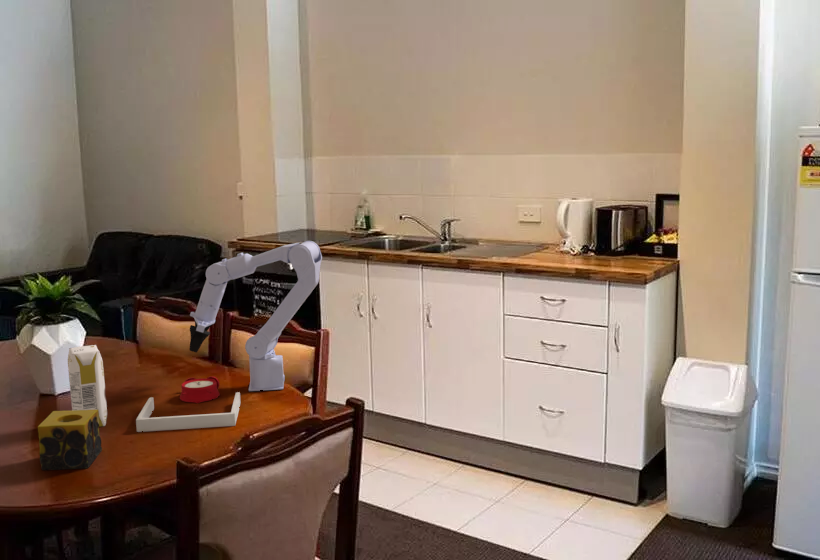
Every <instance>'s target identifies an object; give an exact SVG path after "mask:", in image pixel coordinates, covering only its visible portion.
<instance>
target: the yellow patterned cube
mask: <svg viewBox="0 0 820 560" xmlns="http://www.w3.org/2000/svg"><path fill="white" fill-rule="evenodd" d="M37 433H38V440H39V441H38V444H39V463H40V465H41V467H40V469H41V471H61V470H65V471H66V470H76V469H88V468H89V467H91V466H92V464H93V463H94V462H95V460H96V459H97V458H98V456H99V455H100V453H102V451H103V450H102V449H103V448H102V438H101V435H100V428H99V423H98V410H72V409H71V410H53V411H51V413H50V414H49V415H47V417H46V418H45V419H44V420H43V421H42V422H41V423H40V424H38V426H37Z"/></svg>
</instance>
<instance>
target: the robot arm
mask: <svg viewBox="0 0 820 560" xmlns="http://www.w3.org/2000/svg"><path fill="white" fill-rule="evenodd" d="M322 260H323V255H322V252H321V249H320V245H318V244H317V243H316V242H315V241H312V240H305V241H303V242H302V243H301V242H295V243H289V244H285V245H282V246H279V247H276V248H273V249H271V250H268V251H267V250H266V251H265V252H261V253H260V254H255V255H252V254H249V253H244V252H240V253H237V256H234V257H231V258H229V259H228V258H223V259H221V261H218V262H215V263H213V264H211V265H209V266H207V268H206V270H205V277H206V280H205V282H204V285H203V288H202V291H201V294H200V297H199V301H198V303H197V307H196V309H195V311H191V312H190V314H189V316H190V317H192V318H194V325H193V324H192V325H191V324H190V326H189V333H190V342H189V351H190V352H192V353H198V351H199V350H200V348H201V346H202V344H203V342H205V340H206V339H207V338H208V337H209V336H210V335H211V331H208V330H209V329H210V328H211V327H212V326H213V325H214V324H215V323H216V317H217V314H218V312H219V309H220V306H221V303H222V299H223V297H224V294H225V291H226V288H227V284H228V282H230V281H231V280H236V279H239V278H242V277H245V276H249V275H251V274H254V273H255V272H256V269H257V268H259V267H261V266H265V265H268V264H273V263H274V262H275V263H276V262H278V261H282V262H283V263H286V264H289V263H290V264H291V266H292V267H293V269H294V271H295V272H296V275H297V282H296V283H295V284H294V286H293V287H292V288H291V289H290V291H289V292H288V293H287V295H286V296H285V297H284V299H283V300H282V301H281V303H280V304H279V305H278V306H277V308H276V310H275V311H274V312H273V314H272V315H271V316H270V317H269V319H268V320H267V321H266V323H264V325H263V326H262V327H261V328H259V330H258V331H257V333H256V334H254V335H253V336H250V337H249V338H248V339H246V341H245V345H244V346H245V347H244V349H245V351H246V353H247V355H248V358H249V359H248V361H249V377H250V382H249V386H248V392H261V391H260V390H263V391H276V390H277V391H279V390H280V391H281V390H284V387H285V386H284V385H285V381H286V380H285V377H286V376H285V373H284V359H283V357H284V356H283V355H281V354H276V351H275V348H276V346H277V345H278V339H279V337H280V336H281V335H282V332H283V330H284V329H285V328H286V327H287V325H288V323H289V322H290V321H291V319H293V317H294V315H296V313H297V312H298V310H300V308H301V306H302V305H303V304H304V303H305V302H306V300H307V299H308V297H309V296H310V295H311V294H312V292H313V290H314V289H315V288H316V287H317V286H318V284H319V280H320V272H321V271H320V270H321V264H322Z"/></svg>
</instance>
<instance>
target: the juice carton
mask: <svg viewBox="0 0 820 560" xmlns="http://www.w3.org/2000/svg"><path fill="white" fill-rule="evenodd" d="M67 368H68V369H67V371H68V381H69V392H70V402H71V411H72V410H98V423H99V427H105V426H106V424H107V418H108V409H107V407H108V405H107V397H106V396H107V395H106V383H105V371H104V370H105V369H104V361H103V358H102V354H101V353H100V350H99V349H98V346H97V344H94V345H93V344H91V345H82V346H74V347H70V348H68V355H67Z"/></svg>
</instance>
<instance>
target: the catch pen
mask: <svg viewBox="0 0 820 560" xmlns="http://www.w3.org/2000/svg"><path fill="white" fill-rule="evenodd" d="M233 398H234V399H233V402H232V406H231V411H230V412H220V413H206V414H205V413H204V414H189V415H173V416H172V415H171V416H159V417H158V416H157V417H156V416H154V417H153V416H152V417H151V415H152V413H153V412H154V410H155V401H154V397H152V396H151V397H149V398H148V399H147V401H146V403H145V404H144V406H143V407H142V409H141V411H140V412H139V414H138V416H137V417H136V419H135V425H136V427H135V428H136V432H138V433H142V431H143V433H145V432H156V431H157V432H159V431H173V430H188V429H189V430H190V429H201V428H202V429H203V428H204V429H205V428H219V427H234V426H235V427H236V424H237V420H238V416H239V411H240V408H239V407H240V406H241V393H240V391H239V392H238V391H237V392H236V391H235V395H234V397H233ZM152 411H153V412H152Z"/></svg>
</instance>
